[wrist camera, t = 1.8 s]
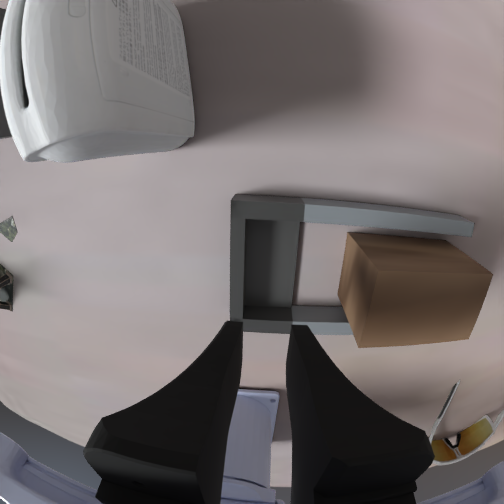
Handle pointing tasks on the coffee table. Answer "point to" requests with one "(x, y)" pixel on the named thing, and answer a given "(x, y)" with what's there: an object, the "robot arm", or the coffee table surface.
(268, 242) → the channel
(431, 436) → the sunglasses
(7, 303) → the eiffel tower figurine
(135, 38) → the photo printer
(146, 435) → the robot arm
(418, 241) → the walnut block
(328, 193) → the coffee table surface
